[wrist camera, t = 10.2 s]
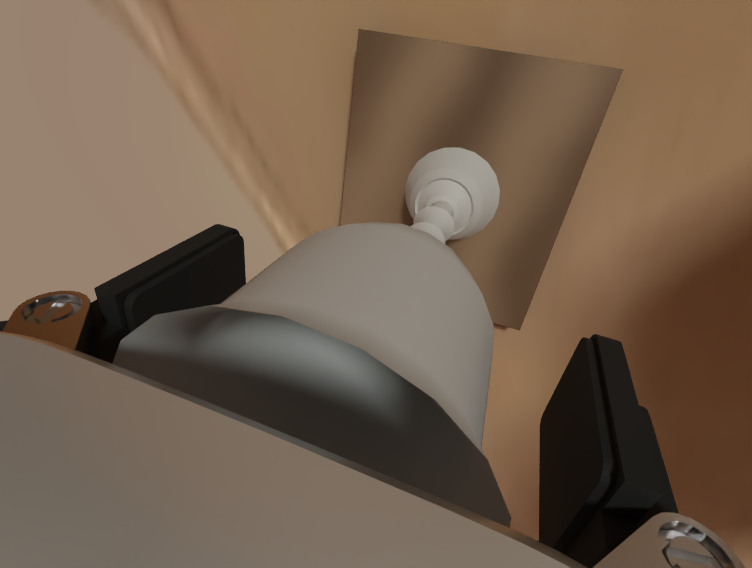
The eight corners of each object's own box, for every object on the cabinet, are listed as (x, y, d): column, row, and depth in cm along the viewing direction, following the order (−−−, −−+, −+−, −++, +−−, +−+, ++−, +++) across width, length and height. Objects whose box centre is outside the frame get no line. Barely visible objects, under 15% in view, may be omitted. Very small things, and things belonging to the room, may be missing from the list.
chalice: (539, 140, 20) (584, 400, 4) (504, 266, 23) (460, 655, 8) (393, 119, 21) (61, 254, 6) (380, 239, 25) (146, 518, 9)
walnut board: (616, 68, 19) (623, 69, 17) (520, 317, 26) (519, 330, 24) (368, 30, 21) (358, 29, 20) (343, 267, 28) (335, 277, 27)
